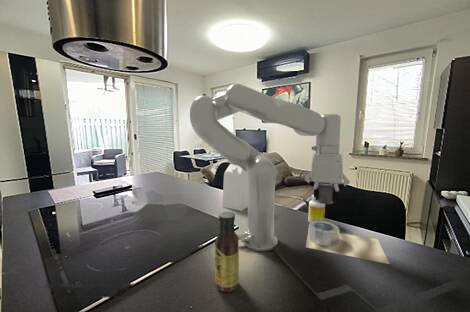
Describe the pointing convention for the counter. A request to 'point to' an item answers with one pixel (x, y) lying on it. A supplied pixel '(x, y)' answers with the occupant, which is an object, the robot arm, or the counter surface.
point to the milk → (235, 188)
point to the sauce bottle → (226, 254)
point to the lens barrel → (323, 233)
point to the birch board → (354, 248)
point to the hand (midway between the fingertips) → (325, 199)
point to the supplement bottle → (316, 210)
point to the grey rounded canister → (325, 193)
